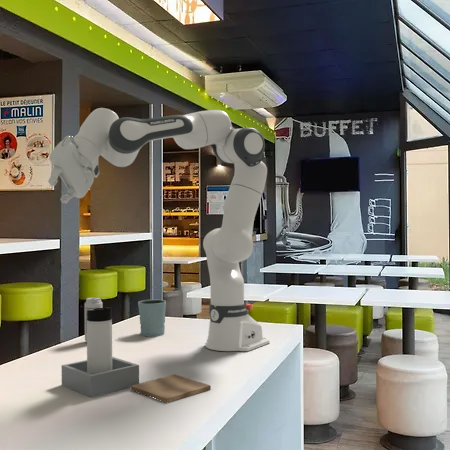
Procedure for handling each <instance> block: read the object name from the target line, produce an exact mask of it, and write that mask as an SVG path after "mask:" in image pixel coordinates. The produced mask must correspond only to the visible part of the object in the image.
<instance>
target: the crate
mask: <svg viewBox="0 0 450 450" xmlns="http://www.w3.org/2000/svg"><path fill="white" fill-rule="evenodd" d="M139 383H140V365H139V364H136V363H133V362H131V361H129V360H128V361H127V360H123V359H121V358H118V357H114V356H112V370H110V371H106V372H101V373H97V374H93V375H92V374H89V373H87V359H85V360H80V361H75V362H71V363H67V364H62V365H61V385H62V386H63V387H65V388H69V389H71V390H73V391H75V392H78V393H80V394H82V395H85V396H87V397H89V398H93V397H98V396H102V395H105V394H109V393H112V392H116V391H120V390H123V389H127V388H131V386H132V385H135V384H139Z"/></svg>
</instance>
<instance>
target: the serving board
mask: <svg viewBox="0 0 450 450" xmlns="http://www.w3.org/2000/svg"><path fill="white" fill-rule="evenodd" d="M211 388H212V386H211V385H210V384H207V383H203V382H201V381H198V380H194V379H191V378H188V377H184V376H181V375H178V374H171V375H167V376H163V377H158V378H155V379H151V380H148V381H144V382H139V384H135V385H132V386H131V387H130V390H131V391H133V392H135V391H137V392H136V393H138V392H139V393H138V394H141V393H142V395H143V394H145V395H144V396H146V395H148V396H147V397H149V396H151V397H154V398H156V399H155V400H157V399H158V400H157V401H159V400H161V401H160V402H162V401H163V403H165V402H166V403H165V404H168V403H171V401H172V402H174V400H175V401H177V400H181V399H185V398H187V397H191V396H194V395H197V394H200V393H204V392H207V391H210V390H211ZM151 397H150V398H151ZM154 398H153V399H154ZM167 402H168V403H167Z"/></svg>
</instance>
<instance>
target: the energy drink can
mask: <svg viewBox="0 0 450 450" xmlns="http://www.w3.org/2000/svg"><path fill="white" fill-rule="evenodd" d="M85 300H86V301H84V341H85V343H87V310H94V309H96V308H104V307H103V301H102V300H101V297H97V296H96V297H95V296H93V297H87V298H85Z"/></svg>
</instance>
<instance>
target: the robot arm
mask: <svg viewBox="0 0 450 450" xmlns="http://www.w3.org/2000/svg"><path fill="white" fill-rule="evenodd" d="M171 138H172V139H173V140H174V142H175V143H176V144H177V146H179V147H180V148H182V149H183V150H195V149H199V148H200V149H201V148H204V147H207V146H211V148H212V152H213V154H214V156H215V157H216V159H217V160H218V161H219V162H222V163H223V164H224V163H225V164H229V165H230V164H233V165H234V166H233V167H234V176H233V177H232V180H231V183H230V186H229V188H228V190H227V191H228V192H227V194H226V197H225V199H224V202H223V206H222V209H223V214H222V215H223V217H222V223H221V226H220V227H218V228H214V229H213V230H210V231H209V232H208V233H206V235H205V236H204V238H203V241H202V247H203V250H204V252H205V255H206V256H205V257H206V262H207V269H208V274H209V281H210V282H209V283H210V303H208V304H209V307H208V313H209V314H208V315H209V317H210V318H209V322H208V323H209V324H208V332H207V333H208V334H207V339H206V343H205V348H207V349H209V350H212V351H218V352H219V351H220V352H249V351H252V350H254V349H258V348H259V347H262V346H265V345H268V344H270V339H268V338H266V337H263V336H264V335H263V329H262V325H261V324H260V323H259V322H258V321H257V320H255V319H254V318H253V317H252V316H250V314H249V312H248V310H249V311H252V310H253V309H254V305H253V304H252V303H245V279H244V277H243V274H242V272H241V267H240V263H241V262H244V261H245V260H247V259H249V258H250V256H251V255H252V253H253V252H254V251H253V250H254V242H253V233H254V221H255V219H256V218H255V217H256V215H257V211H258V208H259V206H260V205H259V204H260V203H261V199H262V196H263V193H264V190H265V187H266V182H267V176H268V167H267V165H266V163H264V162H263V159H264V158H265V148H266V146H265V145H266V143H265V138H264V135H263V133H261V132H260V131H259V129H256V128H253V127H243V128H242V127H241V128H235V127H233V125H232V121H231V118H230V116H229V115H228V113H227V112H225V111H224V110H221V109H210V110H209V109H208V110H201V111H200V110H199V111H196V112H195V111H194V112H191V113H186V114H173V115H166V116H165V115H164V116H157V117H151V118H136V117H130V116H125V117H123V116H122V117H120V118H119V116H118V114H117V113H116V112H114V111H113V110H111V109H110V108H105V107H99V108H96V109H94V110H93V111H92V112H90V114H89V115H88V116H87V117H86V118H85V120H84V121H83V123H82V124H81V126H80V127H79V130H78V133H77V134H76V135H74V137H73V136H72V135H66V136H65V137H64V138H63V140H61V141H60V142H58V143H57V145H55V147H54V148H53V149H52V151H51V152H50V154H49V157H48V158H49V161H50V163H51V165H52V166H53V167H52V169H51V172H50V177H49V178H48V180H47V182H48V184H49V185H50V186H52V187H56V185H57V183H58V182H59V180H58V178H60V179H61V180H62V182H63V183H64V186H65V187H66V188H67V191H66V194H62V195H61V197H60V202H61V203H62V204H65V205H67V204H68V203H69V201H70V200H71V199H73V198H74V197H75V198H77V199H82V198H84V197H85V196H86V194H87V193H88V192H89V191H90V189H91V187H92V185H93V184H94V180H95V178H96V179H97V178H98V176H99V175H100V168H99V157H100V156H101V157H102V158H103V159H104V160H105V161H107V162H108V163H110V164H111V165H112V166H115V167H118V168H126V167H129V166H131V165H132V164H133V163H134V162H135V160H136V158H137V156H138V155H139V152H140V151H141V150H140V149H142V147H144V145H146V144H147V143H149V142H152V141H158V140H164V139H171Z"/></svg>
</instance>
